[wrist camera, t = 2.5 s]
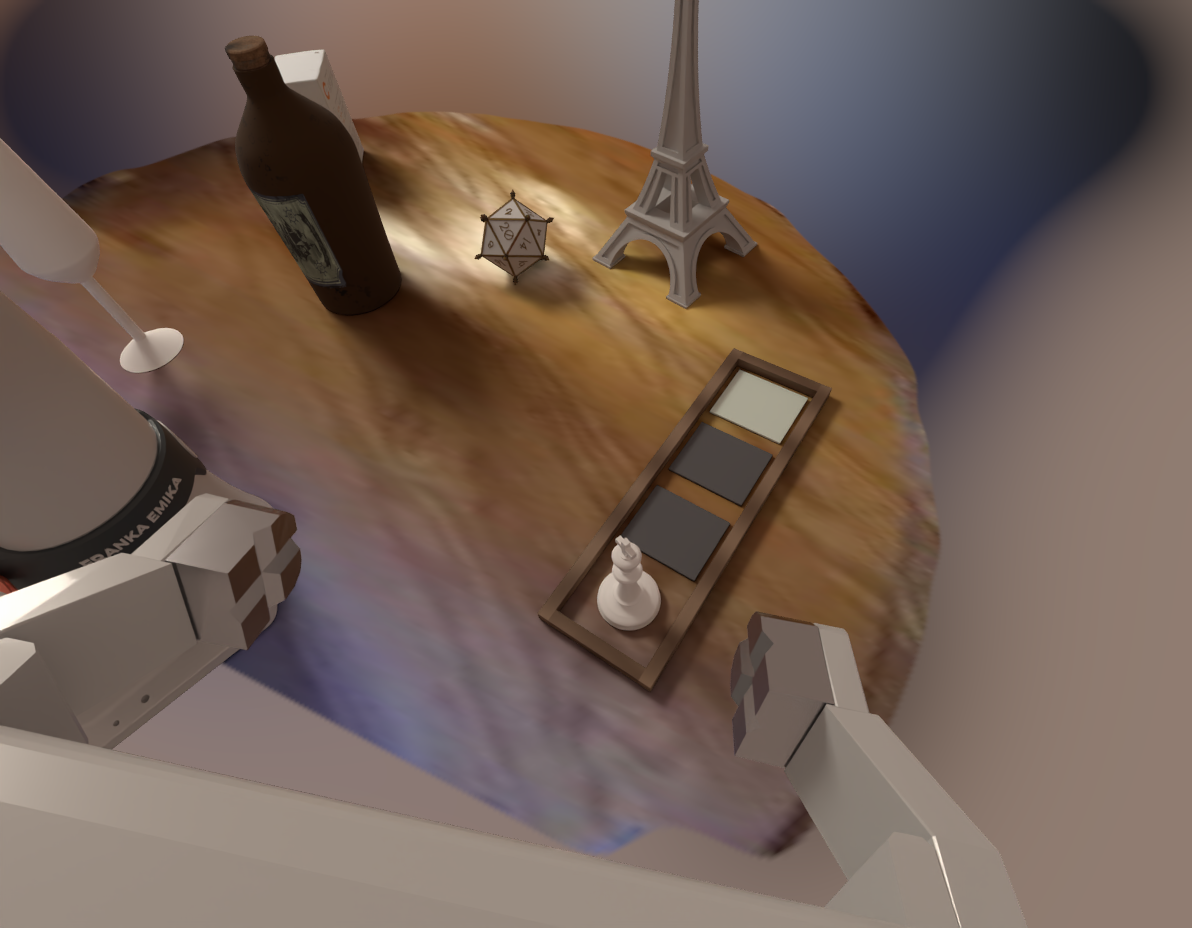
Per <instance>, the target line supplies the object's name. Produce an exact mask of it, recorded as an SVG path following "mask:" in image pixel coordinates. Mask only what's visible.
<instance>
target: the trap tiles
mask: <svg viewBox="0 0 1192 928" xmlns="http://www.w3.org/2000/svg"><path fill="white" fill-rule="evenodd" d="M771 457H772V454H770V453H768V452H765V451H763V450H761V449H759V448H757V447H755V446H753V445H750V444H748V443H746V442H744V441H742V440H740V439H737V438H735V437H733V436H731V435H729V434H727V433H725V432H722V431H720V430H718V429H716V428H714V427H712V426H710V425H707V424H705V423H703V422H702V423H701V424H700V425H699V427H698V428H697V430H696V431H695V432H694V434H693V435H692V437H691V438H690V439H689V441H688V442H687V444H686V445H685V446H684V448H683V449H682V451H681V452H680V453H679V455H678V456H677V458H676V459H675V460H674V462H673V463H672V465H671V466H670V467H669V470H670V471H672V472H674V473H676V474H678V475H680V476H682V477H684V478H686V479H688V480H690V481H692V482H694V483H696V484H698V485H700V486H702V487H704V488H706V489H708V490H710V491H712V492H714V493H716V494H718V495H720V496H722V497H723V498H725V499H727V500H729V501H731V502H733V503H735V504H737V505H739V506H741V505H742V504H743V502H744V501H745V499H746V497H747V496H748V494H749V493H750V491H751V489H752V488H753V486H754V485H755V483H756V481H757V480H758V478H759V477H760V475H761V473H762V472H763V470H764V469H765V467H766V465H767V464H768V462H769V461H770V459H771ZM729 525H730V523H729V522H727V521H725V520H723V519H721V518H719V517H717V516H716V515H714V514H712V513H710V512H708V511H706V510H704V509H702V508H700V507H698V506H696V505H695V504H693V503H691V502H689V501H687V500H685V499H683V498H681V497H679V496H677V495H675V494H673V493H672V492H670V491H668V490H666V489H664V488H662V487H660V486H658V485H656V487H655V488H654V490H653V491H652V492H651V494H650V495H649V497H648V498H647V499H646V501H645V502H644V504H643V505H642V506H641V508H640V509H639V511H638V512H637V513H636V515H635V516H634V517H633V519H632V520H631V522H630V523H629V524H628V526H627V527H626V529H625V530H624V531H623V533H622V534H621V536H622V538H623V539H625V538H627V539H628V540H629V541H630V542H631V543H634V544H635V545H637V546H638V547H639V549H640V551H641V552H643V553H645V554H647V555H648V556H650V557H652V558H654V559H655V560H657V561H659V562H661V563H662V564H664V565H666V566H668V567H669V568H671V569H673V570H675V571H676V572H678V573H680V574H682V575H683V576H685V577H687V578H689V579H690V580H692V581H695V579H696V578H697V576H698V574H699V573H700V571H701V570H702V568H703V566H704V565H705V563H706V562H707V560H708V558H709V557H710V555H711V554H712V552H713V550H714V549H715V547H716V546H717V544H718V542H719V541H720V539H721V538H722V536H723V534H724V533H725V531H726V529H727V528H728V526H729Z"/></svg>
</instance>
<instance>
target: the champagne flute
mask: <svg viewBox="0 0 1192 928" xmlns="http://www.w3.org/2000/svg"><path fill="white" fill-rule="evenodd" d="M0 245H1V246H2V248H3V249H4V250H5V251H6V252H7V253H8V255H9V256H10V257H11V258H12V259H13V260H14V262H15V263H16V264H17V265H18V266H19V267H20V268H21V269H22V270H23V271H25V272H26V273H28V274H31V275H33V276H36V277H38V278H41V279H45V280H48V281H54V282H64V283H81V284H82V285H83V286H84V287H85V288H86V289H87V290H88V291H89V292H90V293H91V295H92V296H93V297H94V298H95V299H96V300H97V301H98V302H99V303H100V304H101V305H102V306H103V307H104V308H105V309H106V310H107V311H108V312H109V313H110V315H111V316H112V317H113V318H114V319H115V320H116V321H117V322H118V323H119V324H120V325H121V326H122V327H123V328H124V329H125V330H126V331H127V332H128V333H129V335H130V336H131V337H132V338H133V340H132V341H131V342H130V343H129V344H128V345H127V346H126V347H125V349H124V350H123V352H122V354H121V357H120V364H121V366H122V367H123V368H124V369H125V370H127V371H129V372H134V373H142V372H148V371H152V370H154V369H157V368H159V367H161V366H163V365H165V364H166V363H168V362H169V361H171V360H172V359H173V358H174V357H175V356H176V355H177V354H178V353H179V351H180V350H181V348H182V345H183V336H182V334H181V333H180V332H179V331H177V330H175V329H171V328H161V329H155V330H151V331H148V332H143V331H142V330H141V329H140V328H139V327H138V326H137V324H136V323H135V322H134V321H133V320H132V319H131V318H130V317H129V316H128V315H127V314H126V313H125V311H124V310H123V309H122V308H121V307H120V306H119V305H118V304H117V303H116V302H115V301H114V300H113V298H112V297H111V296H110V295H109V294H108V293H107V292H106V291H105V290H104V289H103V288H102V286H101V285H100V284H99V283H98V282H97V281H96V280H95V279H94V278H93V277H92V276H93V275H94V273H95V271H96V268H97V264H98V260H99V256H100V247H99V241H98V237H97V236H96V234H95V232H94V231H93V230H92V229H91V228H90V227H89V226H88V225H87V224H86V223H85V222H84V221H83V220H82V219H81V218H80V217H79V216H78V215H77V214H76V213H75V212H74V211H73V210H72V209H71V208H70V207H69V206H68V205H67V204H66V203H65V202H64V201H63V200H62V199H61V198H60V197H59V196H58V195H57V194H56V193H55V192H54V191H53V190H52V189H51V188H50V187H49V186H48V185H47V184H46V183H45V182H44V181H43V180H42V179H41V178H40V177H39V176H38V175H37V174H36V173H35V172H34V171H33V170H32V169H31V168H30V167H29V166H28V165H27V164H26V163H25V162H24V161H23V160H22V159H21V158H20V157H19V156H18V155H17V154H16V153H15V152H14V151H13V150H11V148H10V147H9V146H8V145H7V144H6V143H5V142H4V141H3V140H1V138H0Z"/></svg>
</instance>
